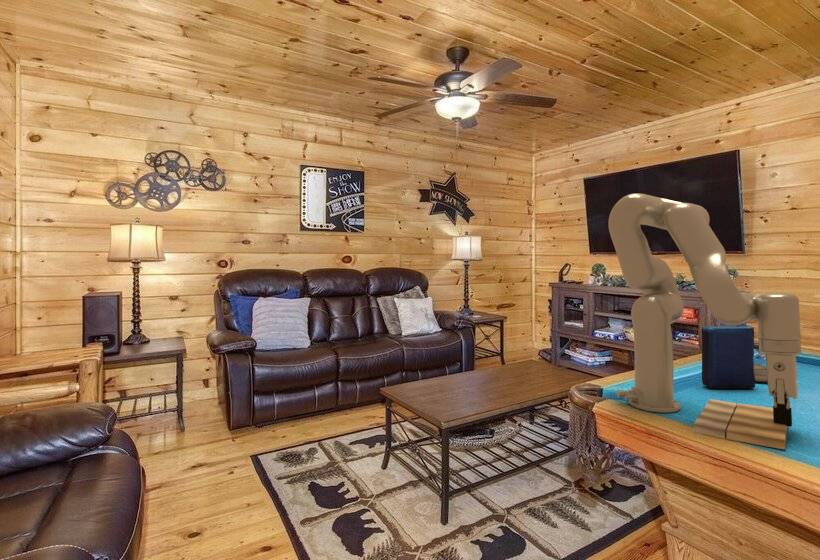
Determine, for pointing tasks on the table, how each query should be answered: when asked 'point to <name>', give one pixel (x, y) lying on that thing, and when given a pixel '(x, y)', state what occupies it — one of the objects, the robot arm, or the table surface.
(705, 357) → the book
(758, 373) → the flying saucer
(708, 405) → the ash board
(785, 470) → the table surface
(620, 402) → the table surface
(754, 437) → the oak plank
